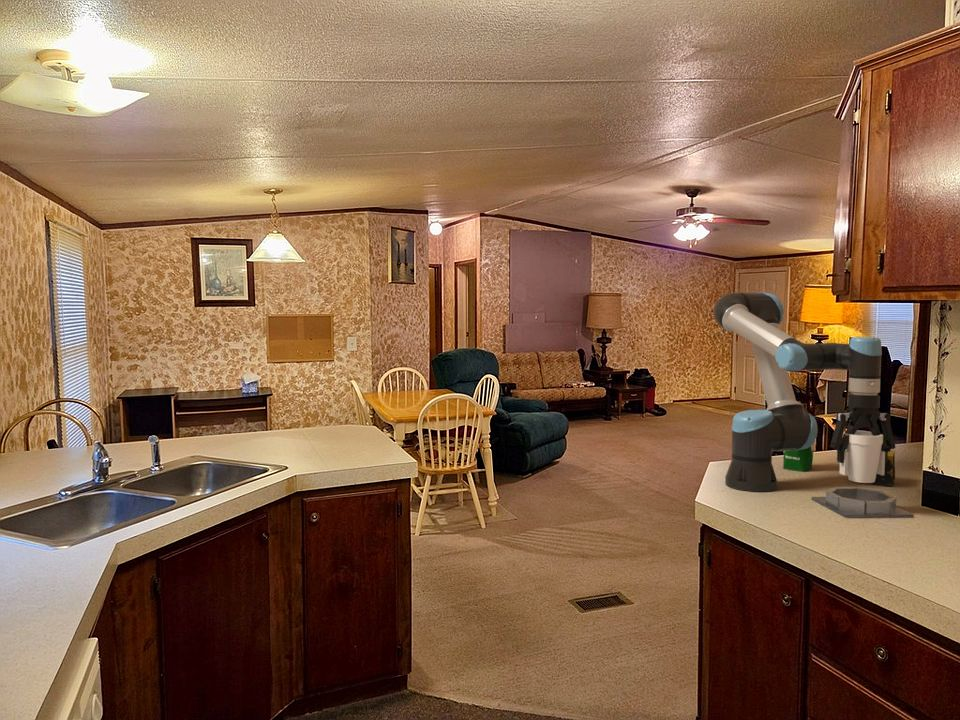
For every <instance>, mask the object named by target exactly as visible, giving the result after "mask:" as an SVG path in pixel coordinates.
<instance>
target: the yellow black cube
mask: <svg viewBox="0 0 960 720" xmlns="http://www.w3.org/2000/svg"><path fill="white" fill-rule="evenodd" d="M895 455H896V450H895V449H891V451H890V452H888V458H887V463H885V470H884V475H880V474H877V473H876V479H875V482H873V483H861V482H856V483H858V484H863V485H864V484H865V485H870V486H871V485H873V486H880V487H891V488H893V487H894V485H895V480H896V467H895Z"/></svg>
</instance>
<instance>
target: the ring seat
mask: <svg viewBox="0 0 960 720" xmlns="http://www.w3.org/2000/svg"><path fill="white" fill-rule="evenodd" d="M811 500H812V501H814V502H815V503H817V504H819V505H821V506H822V507H825V508H827V509H829V510H830V511H832V512H834V513H836V514H838V515H840V516H842V518H843V517H844V518H846V519H880V518H882V519H883V518H884V519H889V518H890V519H891V518H892V519H893V518H894V519H895V518H897V519H899V518H901V519H902V518H905V519H906V518H911V519H912V518H915V516H914V514H913V513H911V512H909V511H907V510H904V509H902V508H900V507H898V506H897V497H896V496H894V495H892V494H889V493H887V492H884V491H882V490H876V489H869V488H863V487H858V486H857V487H856V486H852V487H851V486H849V487H848V486H843V487H842V486H836V487H835V486H834V487H831V488H830V489H827V490H826V491H825V496H811Z"/></svg>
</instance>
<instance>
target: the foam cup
mask: <svg viewBox="0 0 960 720" xmlns="http://www.w3.org/2000/svg"><path fill="white" fill-rule="evenodd" d="M844 433H845V431H844V432H843V434H844ZM845 435H846V436H847V435H849V445H848V447H847V448H846V450H845V451H847V452H848V476H847V477H848V480H849V481H851V482H854V483H857V482H861V483H860V484H862V483H873V482H875V479H876V473H877V468H878V462H879V457H880V451H881V446H882V444H883V438H884V436H883V433H881V434H880V435H879V436H873V435H872V433H871V431H870V430H869V431H867V430H866V431H865V430H857V431H856V432H855V434H854V435H852V434H847V433H845Z"/></svg>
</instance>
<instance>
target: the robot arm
mask: <svg viewBox="0 0 960 720" xmlns="http://www.w3.org/2000/svg"><path fill="white" fill-rule="evenodd" d="M712 312H713V314H712V315H713V318H714V320H715V323H717V325H718V326H719V327H720V328H722V329H724V330H726V332H729V333H736V334H737V335H740V336H741V337H743V338H744V339H746V340H747V341H749V342H750V345H751V350H752V352H753V356H754V361H755V363H756V368H757V370H758V374H759V379H760V382H761V386H762V390H763V394H764V397H765V401H766V404H767V405H766V406H767V408H766V409H748V410H743V411H739V412H737V413H736V414H734V415H733V418H732V424H731V425H732V426H731V431H732V432H731V434H732V435H731V437H732V438H731V461H730V463H729V467H728V470H727V472H726V474H725V481H724V482H725V485H726V486H727V487H729V488H732V489H735V490H741V491H747V492H761V493H762V492H772V491H775V490H777V489H778V479H777V476H776V472H775V469H774V466H773V462H772V461H773V452H784V451H790V450H792V451H797V450H801V449H806V448H808V447H810V446H811V445H812V444H813V445H814V443H815V441H816V438H817V437H818V432H819V431H818V423H817V420H816V418H815V416H814V415H812V414H811V413H809V412H808V413H806V412H804V411H805V408H804V405H803V403H801V402H799V401H797V399H796V395H795V392H794V389H793V386H792V382H791V379H790V375H789V371H791V372H799V371H822V370H823V371H824V370H825V371H827V370H830V371H831V370H832V371H833V370H838V371H839V370H840V371H848V372H849V373H848V392H849V394H848V401H847V402H848V405H847V406H848V411H847V412H844V413H840V412H838V413H836V424H835V426H834V431H833V433H832V438H831V441H830V444H829V447H830V448H832V449H834V450H836V461H837V463H839V474H840V475H843V476H847V477H848V452H847V451H845V450H846V448H847V447H848V445H849V435H847V436H846V435H845V433H847V434H852V435H854V434H855V432H856V431H859V429H863V428H867V429H869V432H871V433H872V435H873V436H879V435H880V434H883V444H882V446H881V451H880V457H879V462H878V468H877V474H880V475H884V470H885V463H887V458H888V452H890V451H891V450H895V449H896V443H895V438H894V435H893V430H892V425H891V415H892V414H890V413H887V412H880V410H879V409H880V407H881V402H880V401H881V396H880V394H879V393H881V377H882V376H881V371H882V368H881V367H882V355H883V350H882V341H881V339H880V338H879V337H873V336H871V337H866V336H865V337H864V336H863V337H862V336H860V337H859V336H855V337H851V338H850V340H849V343H839V342H823V343H804V342H802V341H800V340H799V339H796V338H794V337H792V335H790V334H788V333H786V332H784V331H782V330H781V329H780V328H781V323H782V321H783V319H784V314H785V311H784V306H783V304H782V301H781V300H780V299H779V298H778V296H776V295H774V294H772V293H768V292H763V291H761V292H730V293H726V294H724V295H722V296H721V297H720V298H719V299H717V301H716V302H715V303H714V307H713V311H712ZM848 419H849V422H848V424H847V421H848ZM878 420H880V421H879V422H880V426H879V424H878V422H877V421H878ZM846 425H847V428H846ZM880 427H881V430H880ZM845 428H846V430H845ZM881 431H882V432H881ZM844 432H845V433H844Z"/></svg>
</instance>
